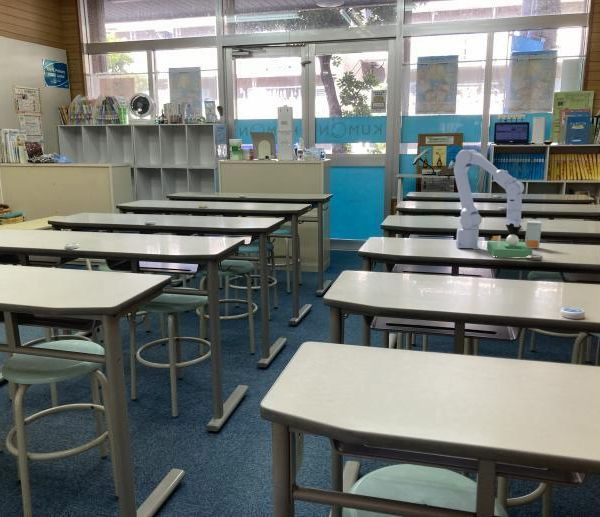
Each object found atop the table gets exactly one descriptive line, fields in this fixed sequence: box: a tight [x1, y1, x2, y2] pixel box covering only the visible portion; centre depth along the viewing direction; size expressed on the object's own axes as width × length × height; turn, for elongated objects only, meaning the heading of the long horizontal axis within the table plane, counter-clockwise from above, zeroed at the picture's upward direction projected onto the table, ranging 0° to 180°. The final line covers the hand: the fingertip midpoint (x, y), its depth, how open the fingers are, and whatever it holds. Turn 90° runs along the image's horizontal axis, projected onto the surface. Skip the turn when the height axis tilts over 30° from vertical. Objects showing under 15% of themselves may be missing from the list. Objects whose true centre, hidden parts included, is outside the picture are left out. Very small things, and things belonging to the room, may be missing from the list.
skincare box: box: [524, 220, 543, 249], centre depth 244 cm, size 6×4×12 cm
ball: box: [505, 234, 520, 246], centre depth 231 cm, size 5×5×5 cm
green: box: [486, 235, 533, 257], centre depth 231 cm, size 16×20×9 cm
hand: (512, 241), depth 233 cm, fingers closed, pressing on ball
